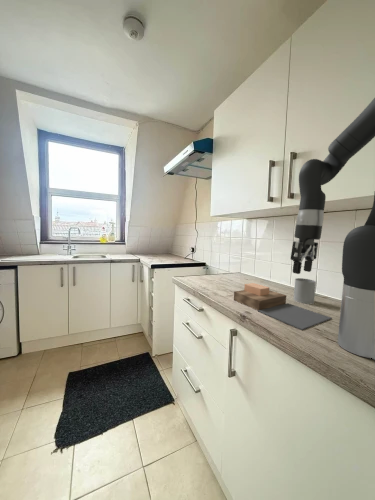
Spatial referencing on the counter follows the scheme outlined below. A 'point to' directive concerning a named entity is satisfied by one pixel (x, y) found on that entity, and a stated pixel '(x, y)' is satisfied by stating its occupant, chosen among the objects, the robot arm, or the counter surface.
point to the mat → (295, 316)
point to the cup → (304, 290)
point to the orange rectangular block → (256, 289)
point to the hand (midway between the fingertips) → (301, 272)
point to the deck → (260, 299)
